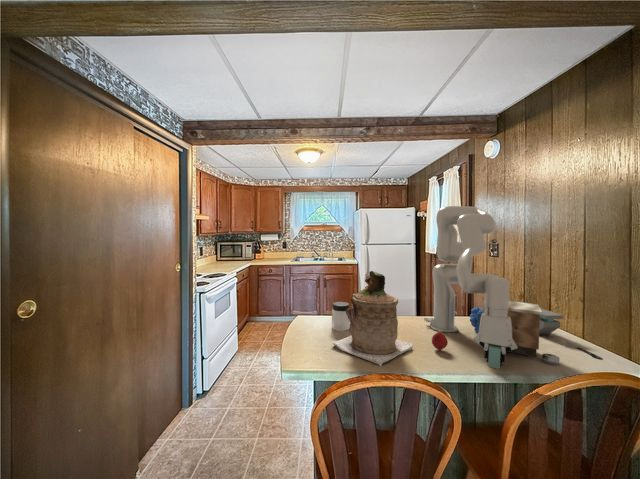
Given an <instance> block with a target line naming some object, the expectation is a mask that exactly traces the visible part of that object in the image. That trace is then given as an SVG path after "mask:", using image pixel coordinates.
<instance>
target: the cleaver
mask: <svg viewBox="0 0 640 479" xmlns="http://www.w3.org/2000/svg"><path fill="white" fill-rule="evenodd" d="M564 348H565V349H566V348H567V349H577V350H578V351H581V352H583V353H585V354H587V355H589V356H591V358H593V359H596V360H601V361H602V360H604V358H603V357H601V356H599V355H597V354H595V353H592V352H590V351H589V350H587V349H584V348H582V347H579V346H577V345H576V344H573V343H572V342H569V340H565V339H564Z"/></svg>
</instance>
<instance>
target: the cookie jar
mask: <svg viewBox="0 0 640 479" xmlns="http://www.w3.org/2000/svg"><path fill="white" fill-rule="evenodd" d="M364 282H365V283H366V286H364V288H363V289H361V290H359V291H358V292H357V293H356V294H355V293H353V294H352V295H351V297H350V303H351V304H352V306H350V308H349V309H347V310H346V315H347V316H348V319H349V321H350V328H349V330H348V332H349V336H347V337H345V338H342V339H339V340H334V341H331V344H332V345H334V346H335V347H336V348H338V349H339V350H340V351H341V352H342V351H343V352H346V353H347V354H351V355H353V356H355V357H359V358H361V359H363V360H366V361H370V362H372V363H375V364H377V365H378V366H380V367H382V366H383V364H385V363H386V362H389V361H390V360H392V359H394V358H396V357H398V356H400V355H402V354H404V353H406V352H408V351H411V350H412V349H413V346H414V345H413V343H411V342H407V341H404V340H399V339H398V335H399V334H398V333H399V332H398V326H399V322H398V321H399V320H398V316H397V315H398V314H397V312H398V311H397V306H398V304H399V298H397V297H396V296H392V295H390V294H389V293H386V291H385V286H386V276H385V275H384V274H382V273H379V272H376V271H373V270H370V271H368V274H366V275H365V279H364Z"/></svg>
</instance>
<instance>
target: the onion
mask: <svg viewBox="0 0 640 479" xmlns="http://www.w3.org/2000/svg"><path fill="white" fill-rule="evenodd" d="M431 344H432V346H433V347H434V348H435V349H436V350H437V351H442V350H444V349H445V348H447V346H448V338H447V336H446V335H445V334H444V333H443V332H442V331H437V332H436V333H434V334H433V336H432V337H431Z"/></svg>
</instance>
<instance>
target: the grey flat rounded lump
mask: <svg viewBox="0 0 640 479" xmlns="http://www.w3.org/2000/svg"><path fill="white" fill-rule="evenodd" d="M560 358H561V357H559V356H557V355H556V354H551V353H542V354H541V361H542V362H543V363H544V364H545V365H549V366H560V360H561V359H560Z"/></svg>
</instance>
